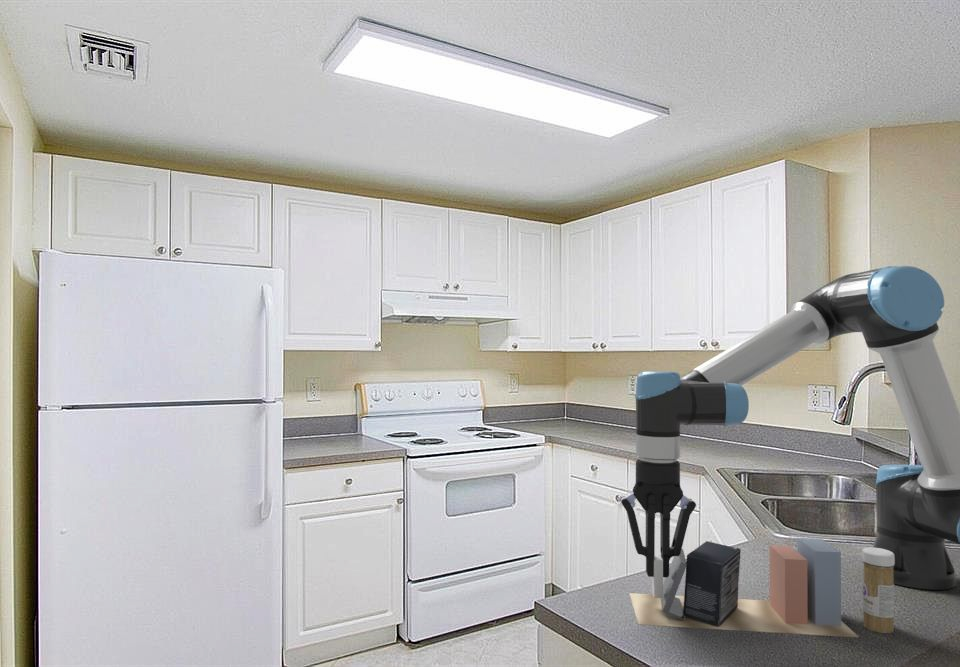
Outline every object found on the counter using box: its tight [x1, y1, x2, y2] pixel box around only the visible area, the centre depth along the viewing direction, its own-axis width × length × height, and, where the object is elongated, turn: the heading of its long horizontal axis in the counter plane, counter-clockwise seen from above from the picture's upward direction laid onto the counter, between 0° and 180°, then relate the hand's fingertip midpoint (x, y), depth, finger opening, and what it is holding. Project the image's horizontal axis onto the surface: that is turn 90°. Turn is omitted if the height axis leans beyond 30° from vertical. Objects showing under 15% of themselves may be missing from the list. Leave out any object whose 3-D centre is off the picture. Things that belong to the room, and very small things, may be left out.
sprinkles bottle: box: [861, 546, 895, 634], centre depth 106 cm, size 5×5×13 cm
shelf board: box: [628, 592, 859, 638], centre depth 111 cm, size 34×14×1 cm, turn 83°
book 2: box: [796, 537, 842, 626], centre depth 111 cm, size 4×8×12 cm, turn 173°
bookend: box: [661, 548, 687, 621], centre depth 112 cm, size 4×9×9 cm, turn 166°
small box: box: [683, 540, 742, 627], centre depth 111 cm, size 11×6×10 cm, turn 143°
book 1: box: [768, 544, 808, 624], centre depth 111 cm, size 4×8×10 cm, turn 173°
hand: (657, 595), depth 113 cm, fingers closed
